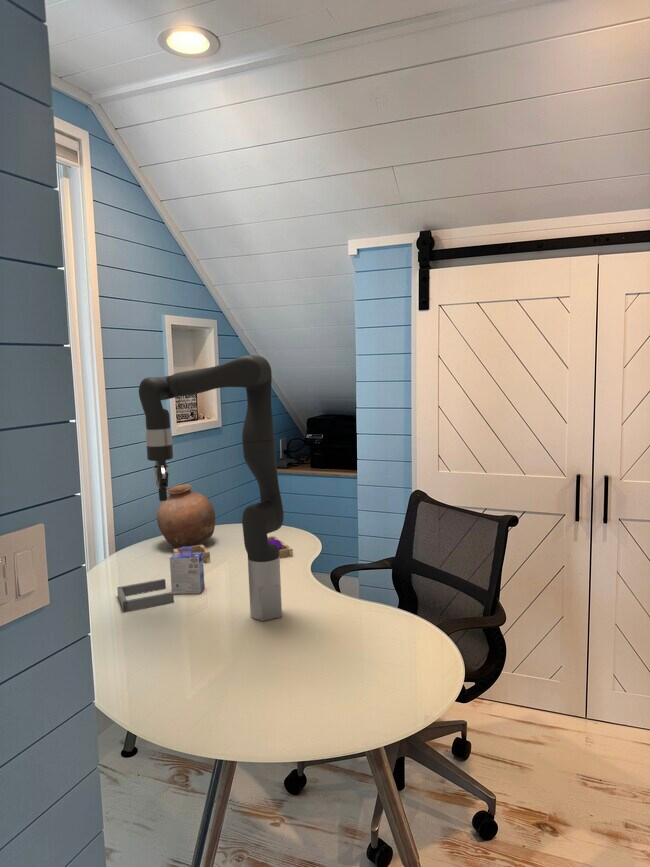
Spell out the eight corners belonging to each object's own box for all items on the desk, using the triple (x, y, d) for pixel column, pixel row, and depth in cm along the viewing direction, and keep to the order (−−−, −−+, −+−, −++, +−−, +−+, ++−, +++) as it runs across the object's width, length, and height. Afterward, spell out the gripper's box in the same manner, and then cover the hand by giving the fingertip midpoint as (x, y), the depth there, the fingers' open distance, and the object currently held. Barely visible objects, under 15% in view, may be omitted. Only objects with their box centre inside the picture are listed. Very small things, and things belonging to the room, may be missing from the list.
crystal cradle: (292, 556, 227) (292, 548, 227) (268, 560, 223) (267, 553, 223) (273, 542, 246) (273, 535, 245) (250, 546, 241) (250, 539, 241)
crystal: (264, 536, 242) (284, 540, 230) (265, 548, 243) (286, 553, 231) (254, 538, 240) (274, 543, 228) (255, 551, 240) (275, 555, 228)
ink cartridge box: (205, 587, 198) (203, 545, 197) (201, 593, 193) (199, 550, 191) (175, 588, 199) (173, 545, 197) (171, 594, 193) (168, 551, 192)
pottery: (224, 538, 255) (220, 480, 252) (203, 555, 232) (200, 492, 229) (173, 537, 259) (170, 480, 256) (148, 554, 236) (144, 491, 233)
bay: (174, 602, 187) (173, 592, 186) (123, 612, 180) (123, 602, 180) (165, 587, 200) (164, 578, 199) (117, 596, 193) (117, 587, 193)
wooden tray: (210, 562, 223) (209, 552, 223) (180, 567, 219) (179, 557, 218) (202, 554, 234) (202, 544, 233) (173, 559, 229) (173, 549, 228)
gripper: (175, 444, 175) (179, 503, 177) (168, 440, 188) (172, 495, 189) (149, 447, 173) (153, 506, 174) (144, 442, 185) (147, 498, 186)
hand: (163, 500), depth 182 cm, fingers closed
